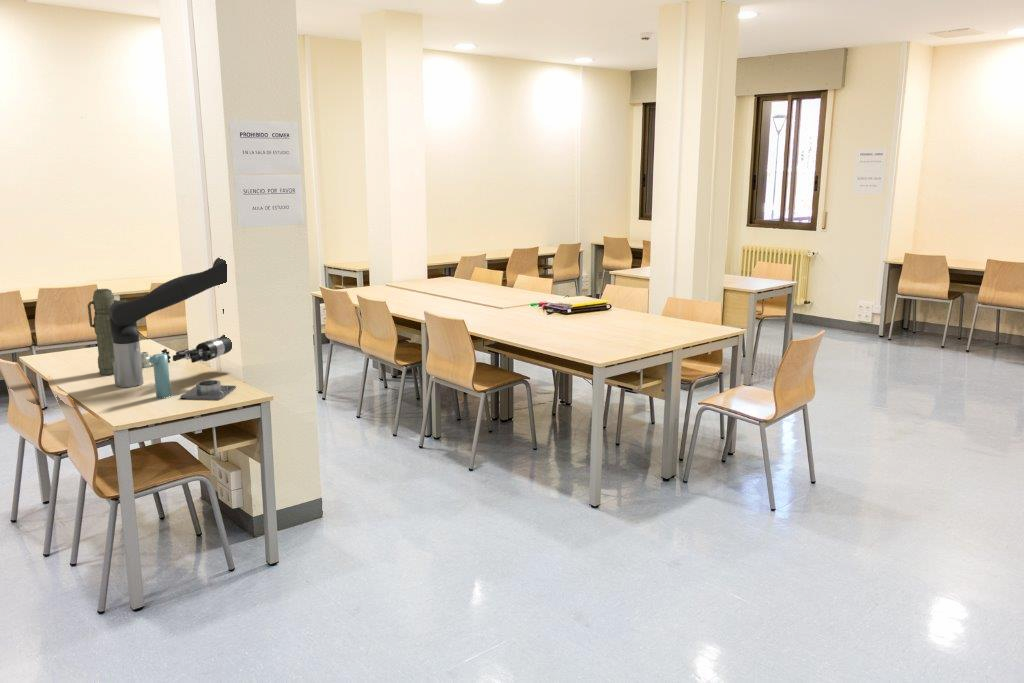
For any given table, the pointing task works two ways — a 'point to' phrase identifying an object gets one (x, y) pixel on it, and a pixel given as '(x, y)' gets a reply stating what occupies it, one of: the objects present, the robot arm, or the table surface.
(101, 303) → the thermos
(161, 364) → the teal spouted cylinder
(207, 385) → the collar
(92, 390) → the table surface
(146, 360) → the valve
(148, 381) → the table surface
